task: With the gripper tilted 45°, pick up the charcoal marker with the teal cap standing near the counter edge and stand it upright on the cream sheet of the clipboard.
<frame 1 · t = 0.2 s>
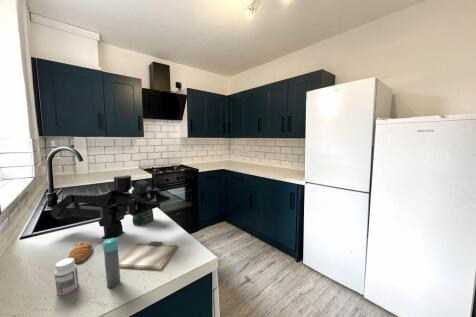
hand: (164, 201, 82), 17 cm above the worktop, tool horizontal, fingers open, 9 cm apart
pill bottle: (68, 289, 56), on the worktop
clipboard: (147, 256, 71), on the worktop
pastry: (81, 256, 72), on the worktop
coffee jar: (143, 222, 101), on the worktop
marker: (113, 284, 58), on the worktop
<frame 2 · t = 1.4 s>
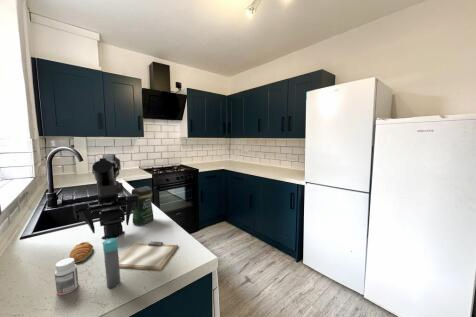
hand: (111, 228, 63), 14 cm above the worktop, tool tilted 45°, fingers open, 9 cm apart
nothing on the worktop moved.
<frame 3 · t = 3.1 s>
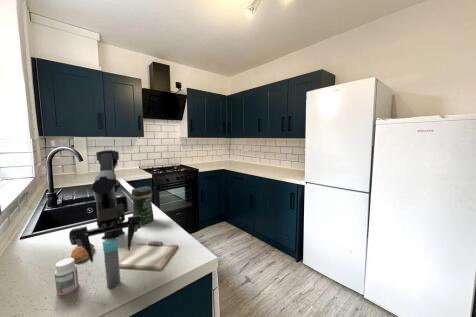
hand: (111, 255, 57), 9 cm above the worktop, tool tilted 45°, fingers open, 9 cm apart
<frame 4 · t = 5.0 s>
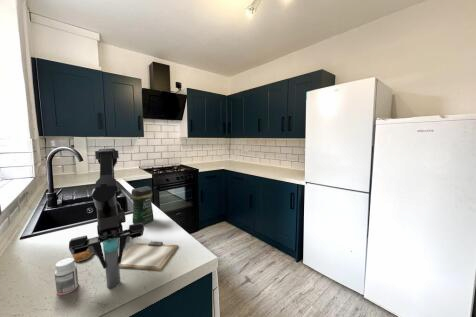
hand: (112, 265, 56), 7 cm above the worktop, tool tilted 45°, fingers closed on marker, 3 cm apart
marker: (113, 284, 58), on the worktop, touching gripper
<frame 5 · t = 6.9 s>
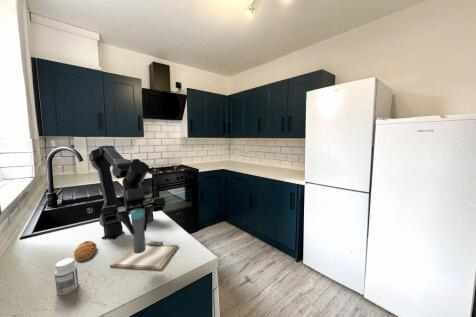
hand: (139, 232, 61), 14 cm above the worktop, tool tilted 45°, fingers closed on marker, 3 cm apart
marker: (139, 250, 63), point 7 cm above the worktop, touching gripper
when the fingers open (9 cm above the worktop, at t = 9.1 s): marker stays where it is, resting on clipboard.
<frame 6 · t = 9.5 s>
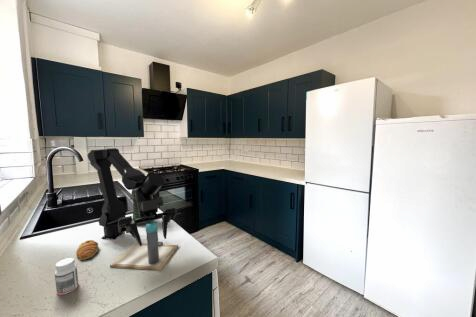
hand: (153, 242, 65), 9 cm above the worktop, tool tilted 45°, fingers open, 7 cm apart
marker: (153, 261, 67), point 1 cm above the worktop, touching clipboard
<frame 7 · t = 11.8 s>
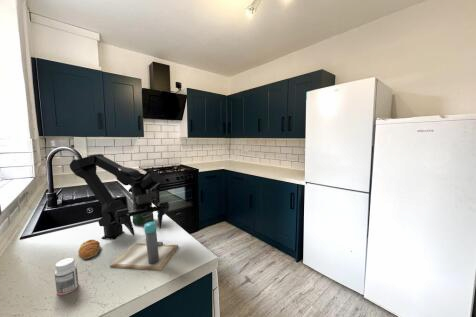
hand: (147, 231, 72), 8 cm above the worktop, tool tilted 45°, fingers open, 9 cm apart
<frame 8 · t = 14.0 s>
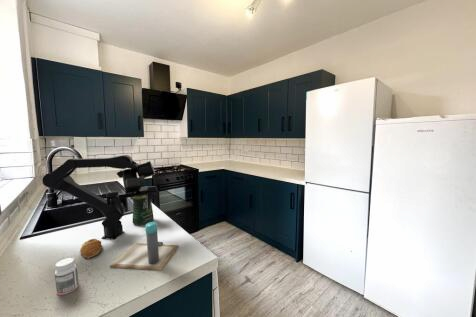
hand: (136, 212, 78), 14 cm above the worktop, tool tilted 45°, fingers open, 9 cm apart
at the end: marker inside the target area on the clipboard (6.2 cm from its centre), point 1.1 cm above the clipboard's base; marker tilted 3°; the gripper is holding nothing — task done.
